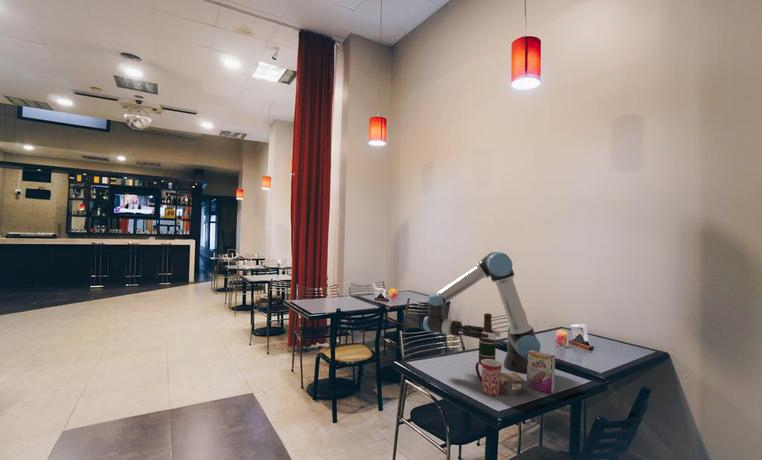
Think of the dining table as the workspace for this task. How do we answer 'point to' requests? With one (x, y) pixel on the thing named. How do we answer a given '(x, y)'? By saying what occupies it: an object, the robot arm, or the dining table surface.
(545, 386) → the candy bar box
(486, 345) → the beer bottle
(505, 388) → the shelf step
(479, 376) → the mug
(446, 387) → the dining table surface
